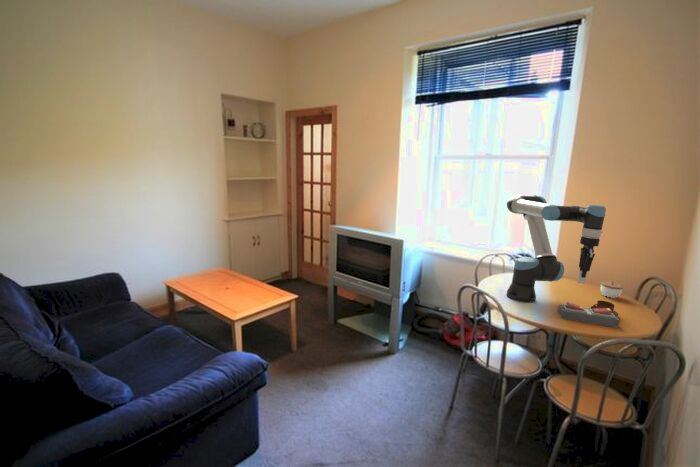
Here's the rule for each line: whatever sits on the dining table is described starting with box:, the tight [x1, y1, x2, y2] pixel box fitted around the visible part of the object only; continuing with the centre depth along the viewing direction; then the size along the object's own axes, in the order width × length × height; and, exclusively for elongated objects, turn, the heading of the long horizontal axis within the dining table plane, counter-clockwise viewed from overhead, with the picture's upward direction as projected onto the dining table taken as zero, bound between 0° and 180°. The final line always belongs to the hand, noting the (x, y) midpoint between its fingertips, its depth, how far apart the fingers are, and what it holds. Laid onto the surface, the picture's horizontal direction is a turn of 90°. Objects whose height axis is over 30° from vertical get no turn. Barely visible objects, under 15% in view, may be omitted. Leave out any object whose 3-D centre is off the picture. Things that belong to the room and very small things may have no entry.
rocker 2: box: [593, 308, 612, 314], centre depth 170 cm, size 7×4×1 cm, turn 71°
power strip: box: [557, 303, 620, 329], centre depth 172 cm, size 24×9×5 cm, turn 72°
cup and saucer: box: [590, 300, 619, 317], centre depth 180 cm, size 12×12×6 cm
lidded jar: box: [600, 281, 624, 299], centre depth 206 cm, size 11×11×9 cm
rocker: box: [565, 301, 584, 311], centre depth 173 cm, size 7×4×1 cm, turn 72°
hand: (581, 282), depth 170 cm, fingers closed
